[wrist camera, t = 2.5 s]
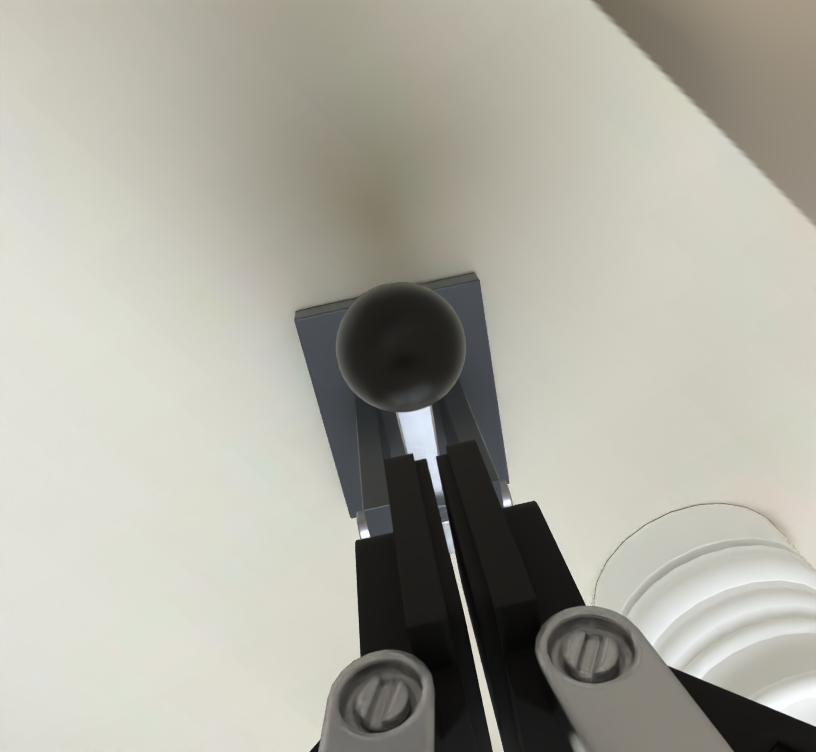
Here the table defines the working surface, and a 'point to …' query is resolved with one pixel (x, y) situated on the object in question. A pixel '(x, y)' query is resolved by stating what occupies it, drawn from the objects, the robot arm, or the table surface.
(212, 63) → the table surface
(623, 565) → the honey pot
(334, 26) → the table surface
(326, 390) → the lever bracket
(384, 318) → the press lever
